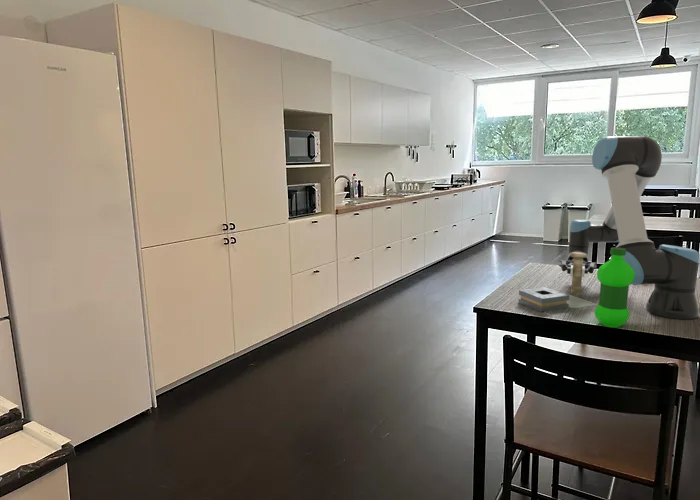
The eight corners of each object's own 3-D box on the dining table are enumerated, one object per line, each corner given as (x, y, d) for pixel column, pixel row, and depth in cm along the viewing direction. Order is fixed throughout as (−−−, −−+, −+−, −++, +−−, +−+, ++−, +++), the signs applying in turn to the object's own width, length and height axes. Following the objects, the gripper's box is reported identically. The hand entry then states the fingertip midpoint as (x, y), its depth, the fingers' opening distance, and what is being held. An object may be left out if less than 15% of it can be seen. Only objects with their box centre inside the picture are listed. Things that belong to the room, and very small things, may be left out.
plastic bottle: (617, 319, 161) (625, 245, 156) (635, 330, 150) (644, 251, 146) (587, 319, 161) (594, 245, 156) (602, 330, 151) (610, 251, 146)
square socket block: (568, 308, 172) (569, 295, 171) (541, 312, 168) (542, 298, 167) (544, 299, 183) (545, 286, 182) (518, 303, 179) (519, 290, 178)
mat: (598, 305, 176) (598, 304, 176) (572, 309, 172) (572, 308, 172) (569, 295, 189) (569, 294, 189) (544, 298, 185) (544, 297, 185)
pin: (586, 294, 179) (589, 254, 176) (575, 295, 177) (578, 255, 175) (575, 291, 184) (578, 252, 181) (565, 292, 182) (568, 252, 179)
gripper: (599, 272, 192) (601, 285, 171) (555, 268, 199) (552, 280, 178) (600, 253, 191) (603, 264, 170) (556, 250, 198) (553, 260, 177)
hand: (577, 272), depth 174 cm, fingers closed on pin, 3 cm apart
